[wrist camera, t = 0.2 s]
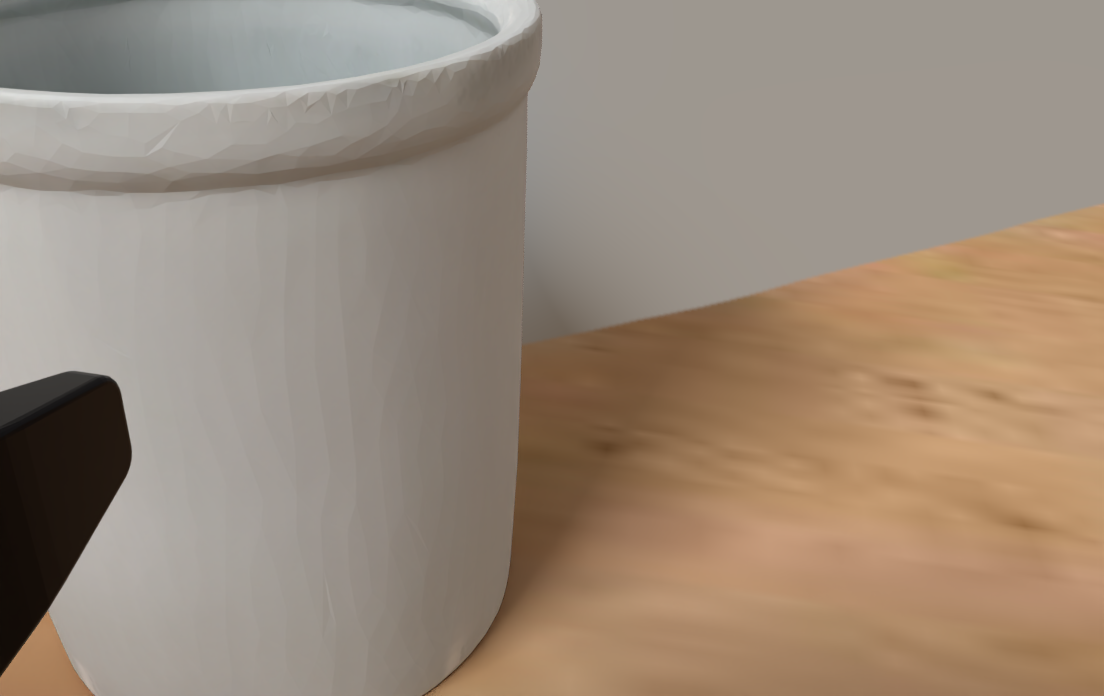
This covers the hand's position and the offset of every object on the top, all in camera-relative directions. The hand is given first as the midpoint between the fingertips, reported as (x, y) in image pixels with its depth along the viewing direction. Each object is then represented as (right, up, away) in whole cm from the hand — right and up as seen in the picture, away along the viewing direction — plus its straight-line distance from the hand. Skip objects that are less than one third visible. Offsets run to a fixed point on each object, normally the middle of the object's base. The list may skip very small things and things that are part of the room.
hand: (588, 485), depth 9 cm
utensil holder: (-8, -6, +22) cm, 25 cm away
